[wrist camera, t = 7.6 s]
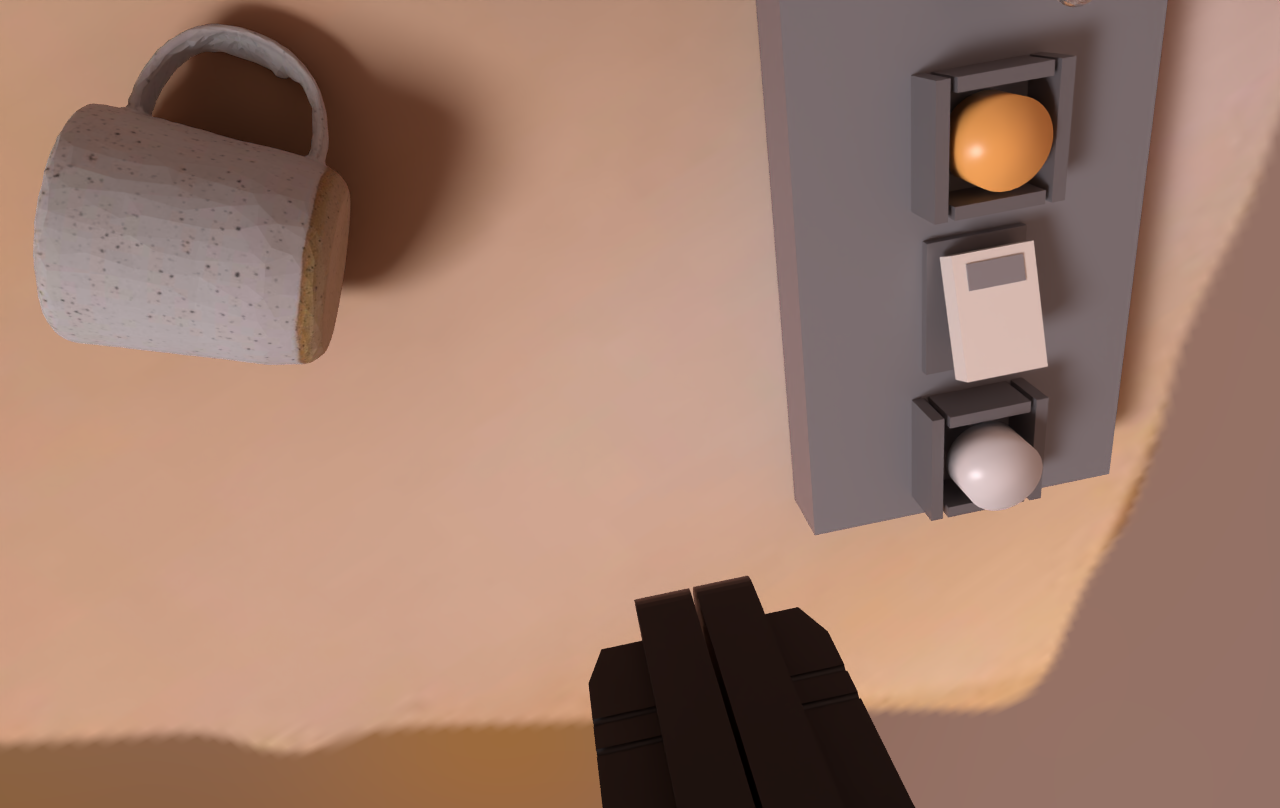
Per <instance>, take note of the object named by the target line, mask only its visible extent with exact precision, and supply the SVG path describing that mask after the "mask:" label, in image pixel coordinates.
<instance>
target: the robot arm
mask: <svg viewBox="0 0 1280 808" xmlns="http://www.w3.org/2000/svg"><path fill="white" fill-rule="evenodd" d="M693 596H694V602H693V598H692V595H691V592H690V590H689V588H688V589H683V590H678V591H674V592H669V593H664V594H659V595H655V596H650V597H645V598H641V599H636V600H634V601H635V606H636V611H637V616H638V622H639V627H640V632H641V637H642V641H639V642H634V643H630V644H625V645H620V646H616V647H611V648H606V649H602V650H601V652H600V655H599V657H598V660H597V663H596V665H595V668H594V671H593V673H592V676H591V679H590V681H589V692H590V701H591V709H592V718H593V724H594V735H595V744H596V751H597V762H598V770H599V779H600V788H601V797H602V805H603V808H915V806H914V805H913V803H912V801H911V799H910V797H909V795H908V793H907V791H906V789H905V787H904V785H903V783H902V781H901V779H900V777H899V774H898V772H897V771H896V768H895V767H894V765H893V763H892V760H891V758H890V756H889V754H888V752H887V750H886V748H885V746H884V744H883V742H882V740H881V738H880V736H879V734H878V732H877V730H876V728H875V726H874V724H873V722H872V720H871V718H870V716H869V714H868V712H867V710H866V708H865V706H864V704H863V702H862V700H861V699H859V696H858V692H857V689H856V687H855V685H854V683H853V681H852V679H851V677H850V675H849V673H848V671H846V670H845V667H844V663H843V661H842V659H841V657H840V655H839V653H838V651H837V649H836V647H835V645H834V643H833V641H832V639H831V637H830V635H829V633H828V631H827V630H825V629H824V628H823V627H822V626H820V625H819V624H818V623H817V622H816V621H814V620H813V619H812V618H811V617H810V616H808V615H807V614H806V613H805V612H803V611H802V610H801V609H800V608H799V607H796V608H792V609H787V610H782V611H778V612H773V613H768V614H765V613H764V611H763V608H762V606H761V603H760V601H759V598H758V596H757V593H756V591H755V588H754V586H753V584H752V581H751V579H750V578H749V576H743V577H739V578H734V579H729V580H725V581H720V582H715V583H710V584H706V585H701V586H696V587H693ZM694 603H695V605H694Z"/></svg>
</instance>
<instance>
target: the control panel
mask: <svg viewBox="0 0 1280 808" xmlns="http://www.w3.org/2000/svg"><path fill="white" fill-rule="evenodd" d="M1167 2H1168V0H1092V1H1090V2H1089V3H1087V4H1086V5H1083V6H1080V7H1068V6H1066V5H1063V4H1062V3H1060V2H1059V1H1058V0H756V7H757V19H758V32H759V45H760V58H761V71H762V84H763V96H764V109H765V122H766V135H767V148H768V160H769V173H770V186H771V199H772V212H773V225H774V237H775V250H776V263H777V276H778V289H779V301H780V314H781V327H782V340H783V353H784V366H785V378H786V391H787V404H788V417H789V430H790V443H791V455H792V468H793V481H794V494H795V501H796V502H797V504H798V506H799V508H800V509H801V511H802V513H803V515H804V517H805V518H806V520H807V522H808V524H809V526H810V527H811V529H812V531H813V533H814V535H819V534H823V533H828V532H833V531H838V530H842V529H847V528H852V527H857V526H862V525H866V524H871V523H876V522H881V521H886V520H890V519H895V518H900V517H905V516H909V515H914V514H919V513H924V512H925V513H926V515H927V516H928V517H929V518H930V520H931V521H933V520H938V519H943V512H944V513H945V514H946V515H947V516H948V517H952V516H957V515H962V514H966V513H971V512H976V511H981V510H985V509H982V508H980V507H978V506H976V505H975V504H974V503H973V502H972V501H971V500H970V499H969V497H968V496H967V495H966V494H965V493H964V492H963V491H962V490H961V489H960V487H959V486H958V485H957V484H956V483H955V482H954V481H953V480H952V479H951V477H950V476H949V474H948V471H947V467H946V458H947V454H948V451H949V449H950V447H951V445H952V444H953V442H954V441H955V440H956V438H957V437H958V436H959V435H960V434H961V433H963V432H964V431H965V430H967V429H968V428H970V427H972V426H974V425H976V424H979V423H983V422H988V421H995V422H1001V423H1004V424H1006V425H1008V426H1009V427H1010V428H1012V429H1013V430H1014V431H1015V432H1016V433H1017V434H1018V435H1020V436H1021V437H1022V438H1023V439H1024V440H1025V441H1026V442H1028V443H1029V444H1030V445H1031V446H1032V447H1033V448H1034V449H1035V450H1037V452H1038V453H1039V455H1040V457H1041V459H1042V464H1043V470H1042V475H1041V478H1040V481H1039V483H1038V485H1037V486H1036V488H1035V489H1034V490H1033V492H1032V493H1031V494H1030V495H1029V496H1028V497H1027V498H1028V499H1029V500H1033V499H1038V498H1041V488H1043V487H1048V486H1053V485H1058V484H1062V483H1067V482H1072V481H1077V480H1082V479H1086V478H1091V477H1096V476H1101V475H1105V474H1109V470H1110V462H1111V454H1112V445H1113V437H1114V429H1115V421H1116V413H1117V405H1118V397H1119V389H1120V381H1121V373H1122V365H1123V357H1124V349H1125V341H1126V333H1127V325H1128V316H1129V308H1130V300H1131V292H1132V284H1133V276H1134V268H1135V260H1136V252H1137V244H1138V236H1139V228H1140V220H1141V212H1142V204H1143V195H1144V187H1145V179H1146V171H1147V163H1148V155H1149V147H1150V139H1151V131H1152V123H1153V115H1154V107H1155V99H1156V91H1157V83H1158V74H1159V66H1160V58H1161V50H1162V42H1163V34H1164V26H1165V18H1166V10H1167ZM984 90H999V91H1003V92H1008V93H1013V94H1018V95H1022V96H1027V97H1030V98H1033V99H1035V100H1037V101H1038V102H1040V103H1041V104H1042V105H1043V106H1044V107H1045V108H1046V110H1047V111H1048V113H1049V115H1050V118H1051V121H1052V124H1053V142H1052V146H1051V150H1050V153H1049V155H1048V157H1047V159H1046V161H1045V163H1044V165H1043V166H1042V168H1041V169H1040V170H1039V171H1038V173H1037V174H1036V175H1035V176H1034V177H1033V178H1032V179H1030V180H1029V181H1028V182H1026V183H1025V184H1023V185H1022V186H1020V187H1018V188H1015V189H1013V190H1009V191H1004V192H993V191H989V190H986V189H983V188H981V187H978V186H976V185H974V184H971V183H969V182H967V181H964V180H962V179H960V178H958V177H956V176H955V175H953V174H952V173H951V172H950V171H949V143H950V114H951V112H952V111H953V109H954V108H955V107H956V106H957V105H958V104H959V103H960V102H961V101H963V100H964V99H965V98H967V97H968V96H970V95H972V94H974V93H977V92H980V91H984ZM1033 240H1034V248H1035V257H1036V266H1037V275H1038V283H1039V292H1040V301H1041V310H1042V319H1043V328H1044V337H1045V345H1046V354H1047V363H1048V366H1047V367H1042V368H1037V369H1032V370H1027V371H1022V372H1017V373H1012V374H1007V375H1002V376H997V377H992V378H987V379H982V380H977V381H972V382H963V381H959V380H956V379H955V371H954V363H953V356H952V348H951V340H950V333H949V325H948V317H947V310H946V302H945V294H944V286H943V279H942V271H941V263H940V257H943V256H948V255H953V254H959V253H964V252H969V251H974V250H979V249H985V248H990V247H995V246H1000V245H1005V244H1011V243H1016V242H1023V241H1033ZM1022 502H1024V500H1023V501H1022Z"/></svg>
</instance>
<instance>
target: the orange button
mask: <svg viewBox="0 0 1280 808" xmlns="http://www.w3.org/2000/svg"><path fill="white" fill-rule="evenodd" d="M1052 142H1053V124H1052V121H1051V118H1050V115H1049V113H1048V111H1047V110H1046V108H1045V107H1044V106H1043V105H1042V104H1041V103H1040V102H1038V101H1037V100H1035V99H1033V98H1030V97H1027V96H1022V95H1018V94H1013V93H1008V92H1003V91H999V90H984V91H980V92H977V93H974V94H972V95H970V96H968V97H967V98H965V99H964V100H963V101H961V102H960V103H959V104H958V105H957V106H956V107H955V108H954V109H953V111H952V112H951V114H950V143H949V171H950V172H951V173H952V174H953V175H955V176H956V177H958V178H960V179H962V180H964V181H967V182H969V183H971V184H974V185H976V186H978V187H981V188H983V189H986V190H989V191H993V192H1004V191H1009V190H1013V189H1015V188H1018V187H1020V186H1022V185H1023V184H1025V183H1026V182H1028V181H1029V180H1030V179H1032V178H1033V177H1034V176H1035V175H1036V174H1037V173H1038V171H1039V170H1040V169H1041V168H1042V166H1043V165H1044V163H1045V161H1046V159H1047V157H1048V155H1049V153H1050V150H1051V146H1052Z"/></svg>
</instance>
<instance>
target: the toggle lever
mask: <svg viewBox="0 0 1280 808" xmlns="http://www.w3.org/2000/svg"><path fill="white" fill-rule="evenodd" d="M1058 1H1059V2H1060V3H1062V4H1063V5H1066V6H1068V7H1080V6H1083V5H1086V4H1087V3H1089V2H1090V1H1092V0H1058Z"/></svg>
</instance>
